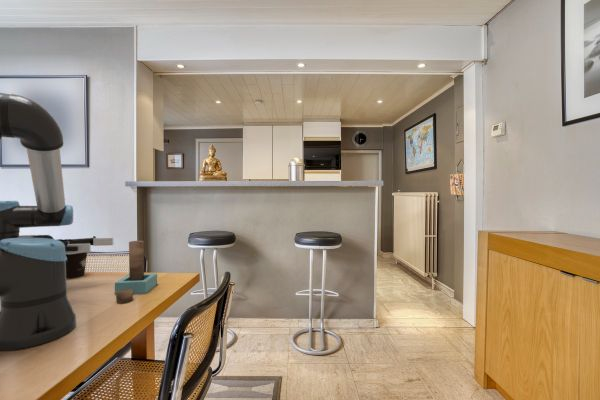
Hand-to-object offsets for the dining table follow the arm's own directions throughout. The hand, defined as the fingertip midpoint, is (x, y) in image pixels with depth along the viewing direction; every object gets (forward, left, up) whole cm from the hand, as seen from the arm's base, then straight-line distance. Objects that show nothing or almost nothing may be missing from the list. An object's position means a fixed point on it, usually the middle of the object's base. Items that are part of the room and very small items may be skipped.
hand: (102, 244), depth 99 cm
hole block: (0, -11, -16) cm, 20 cm away
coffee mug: (+18, +22, -16) cm, 33 cm away
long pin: (0, -11, -16) cm, 20 cm away
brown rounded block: (-11, -12, -16) cm, 23 cm away
